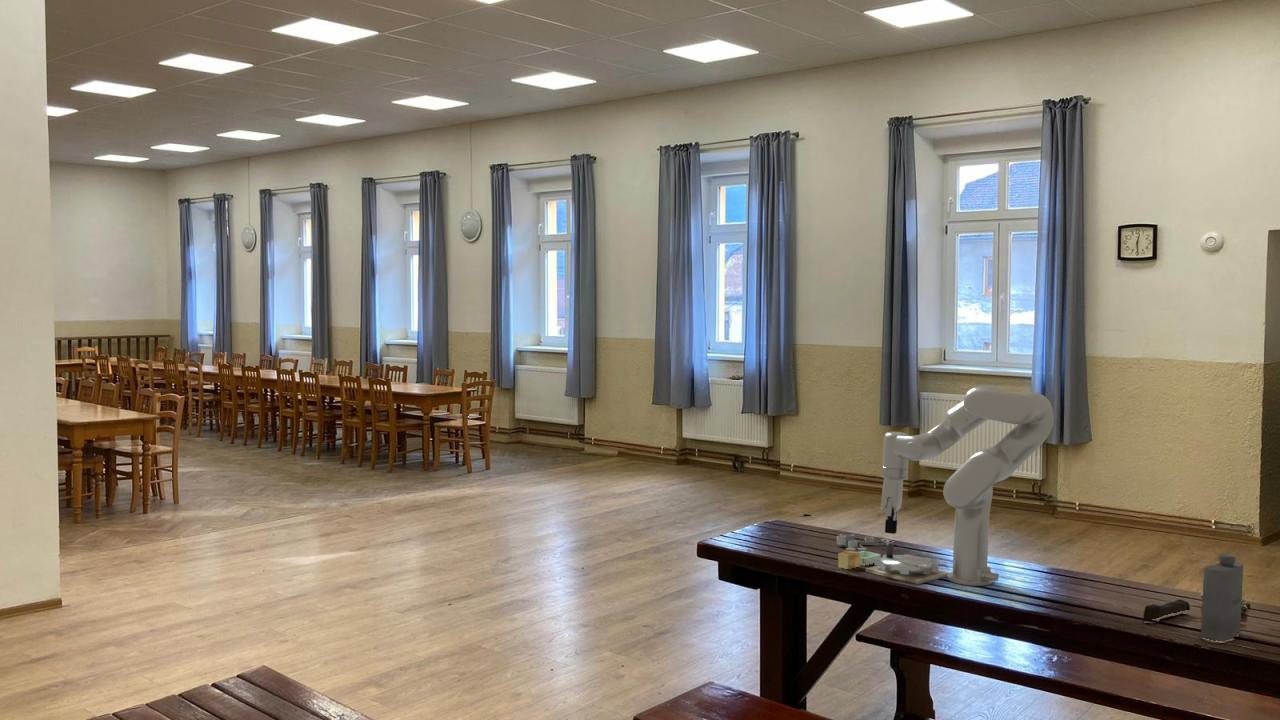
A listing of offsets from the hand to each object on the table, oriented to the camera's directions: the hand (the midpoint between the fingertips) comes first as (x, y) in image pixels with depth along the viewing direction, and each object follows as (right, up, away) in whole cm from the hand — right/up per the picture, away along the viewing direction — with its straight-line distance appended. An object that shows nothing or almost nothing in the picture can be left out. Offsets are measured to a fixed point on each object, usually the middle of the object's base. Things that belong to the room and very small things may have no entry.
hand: (890, 532), depth 322 cm
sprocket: (+2, -9, -9) cm, 13 cm away
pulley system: (-4, -10, +28) cm, 30 cm away
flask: (+65, -15, -65) cm, 93 cm away
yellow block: (-13, -10, -2) cm, 17 cm away
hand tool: (+58, -14, -51) cm, 79 cm away
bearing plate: (+2, -11, -9) cm, 14 cm away
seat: (-7, -10, +5) cm, 13 cm away
